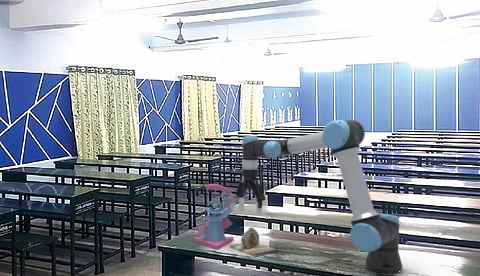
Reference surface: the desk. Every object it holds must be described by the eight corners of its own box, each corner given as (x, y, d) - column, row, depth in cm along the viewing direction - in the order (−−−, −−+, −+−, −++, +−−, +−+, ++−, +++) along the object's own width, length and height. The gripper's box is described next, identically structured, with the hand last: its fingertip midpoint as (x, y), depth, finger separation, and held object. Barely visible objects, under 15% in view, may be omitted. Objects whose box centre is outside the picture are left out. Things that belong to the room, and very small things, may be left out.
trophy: (233, 240, 259) (234, 182, 257) (237, 249, 242) (238, 186, 241) (193, 241, 256) (194, 182, 255) (195, 250, 239) (196, 187, 238)
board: (278, 252, 237) (278, 250, 237) (255, 256, 230) (255, 254, 229) (252, 243, 254) (252, 241, 254) (229, 247, 246) (230, 244, 246)
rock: (249, 239, 252) (248, 222, 248) (260, 243, 249) (260, 225, 245) (236, 252, 242) (236, 234, 238) (248, 256, 239) (248, 238, 235)
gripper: (273, 170, 234) (272, 216, 235) (241, 166, 254) (240, 208, 255) (260, 171, 230) (260, 217, 230) (228, 167, 250) (228, 209, 251)
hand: (249, 213), depth 243 cm, fingers open, 13 cm apart
